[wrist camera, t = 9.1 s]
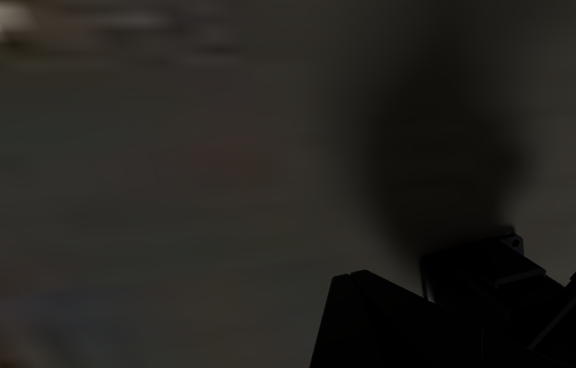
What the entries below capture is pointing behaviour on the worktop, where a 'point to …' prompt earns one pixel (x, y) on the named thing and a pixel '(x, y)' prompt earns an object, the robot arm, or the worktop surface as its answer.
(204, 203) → the worktop surface
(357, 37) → the worktop surface
